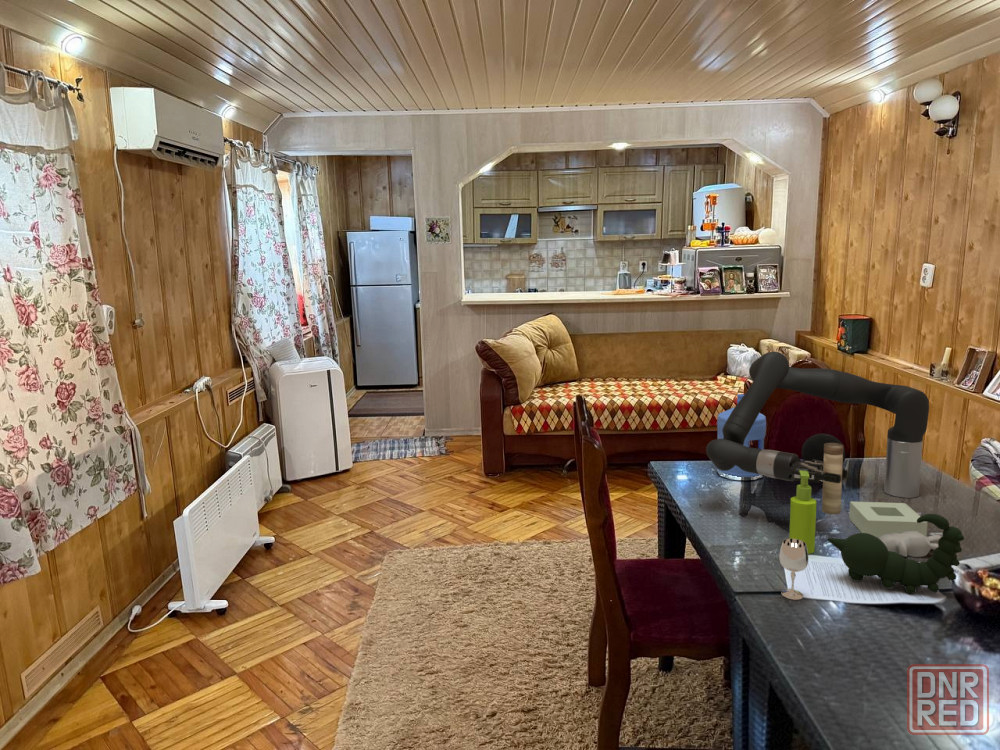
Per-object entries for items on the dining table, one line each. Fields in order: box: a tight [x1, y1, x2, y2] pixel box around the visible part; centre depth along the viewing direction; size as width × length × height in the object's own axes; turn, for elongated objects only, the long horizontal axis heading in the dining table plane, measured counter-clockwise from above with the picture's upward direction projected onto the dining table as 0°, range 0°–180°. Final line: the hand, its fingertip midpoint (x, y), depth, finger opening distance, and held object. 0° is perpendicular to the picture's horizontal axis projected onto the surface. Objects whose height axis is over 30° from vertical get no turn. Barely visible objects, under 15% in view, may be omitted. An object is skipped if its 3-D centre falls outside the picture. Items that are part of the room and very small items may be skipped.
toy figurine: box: [826, 513, 965, 595], centre depth 145 cm, size 9×19×25 cm
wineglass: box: [778, 538, 809, 601], centre depth 143 cm, size 6×6×12 cm
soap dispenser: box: [788, 470, 818, 555], centre depth 165 cm, size 6×7×20 cm
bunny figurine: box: [879, 531, 943, 558], centre depth 161 cm, size 10×5×15 cm
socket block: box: [848, 501, 929, 538], centre depth 176 cm, size 14×14×5 cm
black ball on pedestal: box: [801, 433, 846, 463], centre depth 219 cm, size 13×13×15 cm
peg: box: [821, 443, 845, 515], centre depth 171 cm, size 4×4×18 cm
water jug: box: [715, 393, 767, 477], centre depth 223 cm, size 16×16×28 cm
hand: (843, 476), depth 169 cm, fingers closed on peg, 4 cm apart
